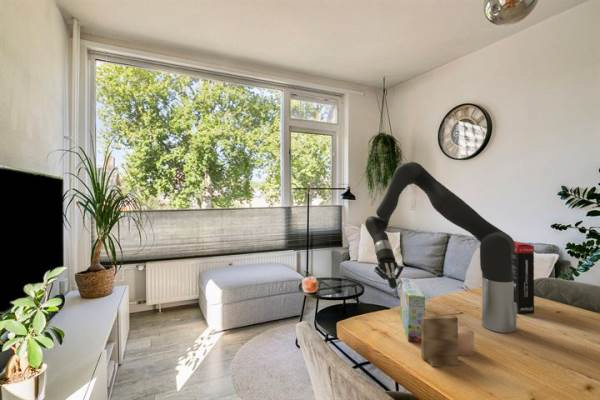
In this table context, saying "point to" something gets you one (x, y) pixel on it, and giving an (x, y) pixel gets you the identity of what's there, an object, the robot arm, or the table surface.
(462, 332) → the pinkish-brown rounded piece
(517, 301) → the graphics card box
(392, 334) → the table surface
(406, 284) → the snack box
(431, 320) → the walnut bookend
